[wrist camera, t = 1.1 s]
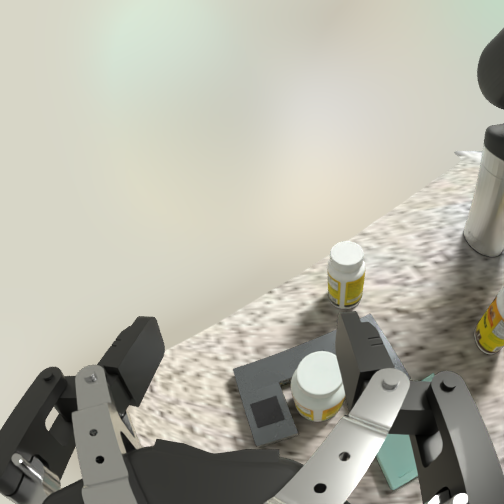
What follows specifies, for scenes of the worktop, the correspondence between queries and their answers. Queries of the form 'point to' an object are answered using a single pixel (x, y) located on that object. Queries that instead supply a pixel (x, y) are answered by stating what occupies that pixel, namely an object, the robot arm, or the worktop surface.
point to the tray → (398, 457)
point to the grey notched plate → (280, 373)
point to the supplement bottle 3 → (492, 327)
